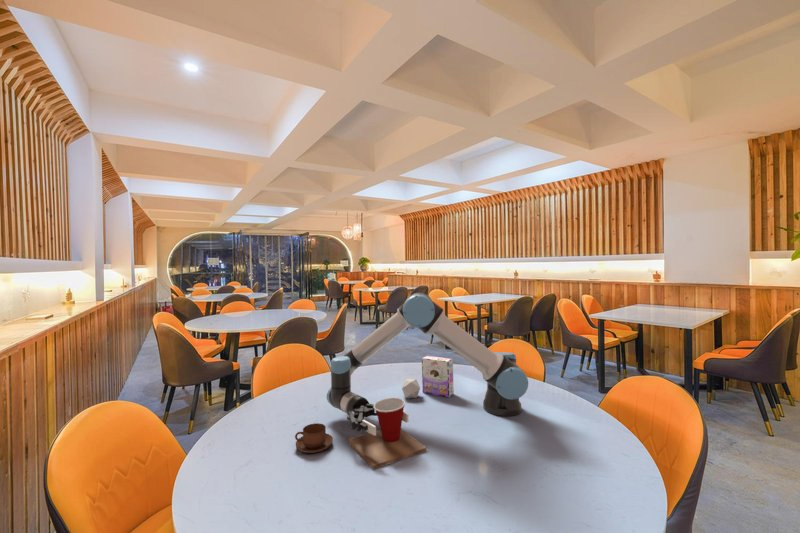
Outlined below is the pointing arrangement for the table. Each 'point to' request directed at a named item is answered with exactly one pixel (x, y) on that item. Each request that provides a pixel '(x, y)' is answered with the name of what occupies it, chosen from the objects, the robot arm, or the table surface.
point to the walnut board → (385, 448)
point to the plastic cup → (390, 417)
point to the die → (410, 388)
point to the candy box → (437, 376)
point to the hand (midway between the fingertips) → (392, 424)
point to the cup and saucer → (313, 439)
